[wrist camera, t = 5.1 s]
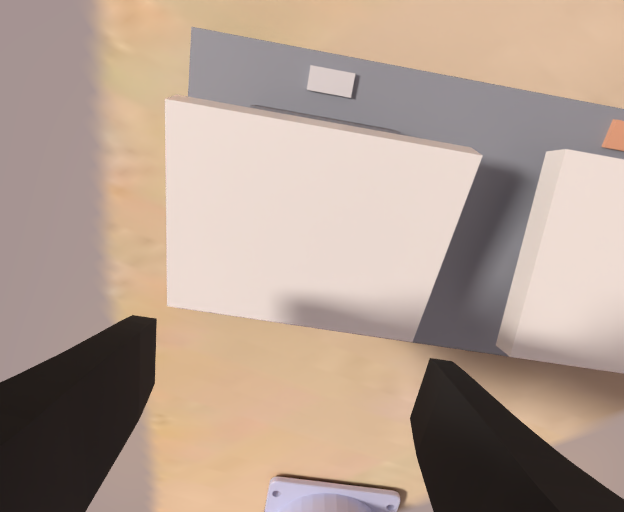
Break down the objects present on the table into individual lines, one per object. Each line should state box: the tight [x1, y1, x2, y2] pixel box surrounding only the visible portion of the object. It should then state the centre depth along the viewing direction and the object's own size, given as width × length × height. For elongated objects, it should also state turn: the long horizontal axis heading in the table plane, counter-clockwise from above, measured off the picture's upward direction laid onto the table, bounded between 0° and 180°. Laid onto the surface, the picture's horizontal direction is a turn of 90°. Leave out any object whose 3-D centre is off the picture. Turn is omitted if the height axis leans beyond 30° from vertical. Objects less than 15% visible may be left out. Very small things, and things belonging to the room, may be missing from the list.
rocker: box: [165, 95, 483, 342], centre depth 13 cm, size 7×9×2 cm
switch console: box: [182, 27, 624, 356], centre depth 16 cm, size 11×22×4 cm, turn 80°
